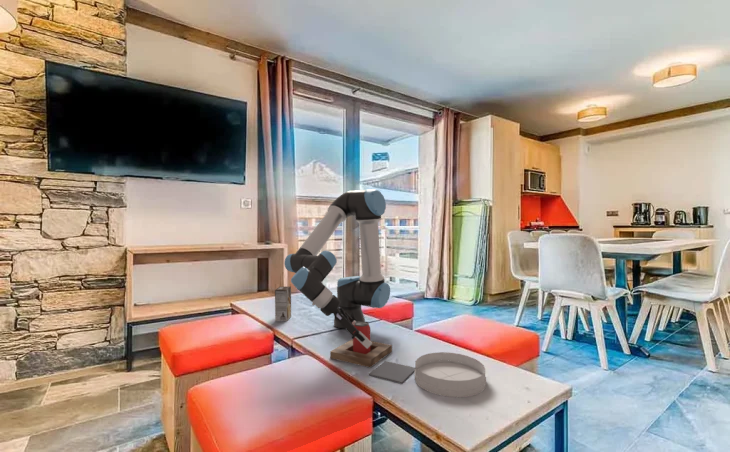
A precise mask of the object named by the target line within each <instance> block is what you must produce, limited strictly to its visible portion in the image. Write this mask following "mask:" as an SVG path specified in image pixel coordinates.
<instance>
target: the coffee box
mask: <svg viewBox="0 0 730 452" xmlns="http://www.w3.org/2000/svg"><path fill="white" fill-rule="evenodd" d="M274 314H275V315H274V316H275V317H274V318H275V322H288V321H289V320H290V319H291V317H292V286H291V285H290V286H278V287H277V288H275V289H274Z"/></svg>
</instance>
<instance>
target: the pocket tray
mask: <svg viewBox="0 0 730 452" xmlns="http://www.w3.org/2000/svg"><path fill="white" fill-rule="evenodd" d="M370 341H371V342H372V344H371V345H370V352H369V353H367V354H362V353H358V352H353V338H351V339H350V340H348V341H347V342H344V343H343V344H341V345H339V346H337V347H335V348H333V349H331V350H330V351H329V355H330V356H329V357H330V359H333V360H338V361H341V362H345V363H349V364H354V365H356V366H363V367H367V368H371V367H374V365H376V364H377V363H379V361H381V360H383V359H384V358H385V357H387V356H388V355H389V354H391V353H392V352H393V345H392V344H388V343H384V342H379V341H378V342H377V341H373V340H370Z"/></svg>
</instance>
